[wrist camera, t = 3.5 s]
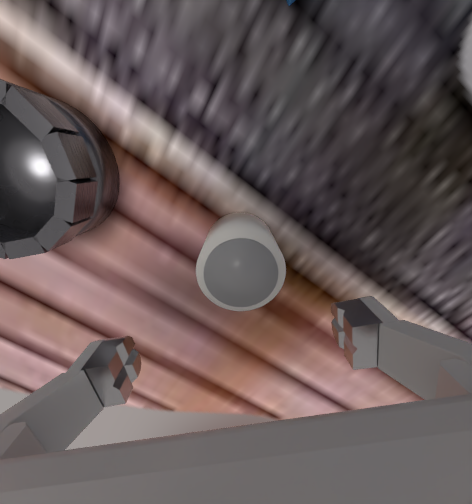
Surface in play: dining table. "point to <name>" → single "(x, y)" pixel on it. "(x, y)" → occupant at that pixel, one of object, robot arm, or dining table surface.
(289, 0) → the perfume bottle
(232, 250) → the cap
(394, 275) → the dining table surface
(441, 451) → the robot arm
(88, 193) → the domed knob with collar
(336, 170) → the dining table surface
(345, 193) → the dining table surface
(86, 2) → the dining table surface
